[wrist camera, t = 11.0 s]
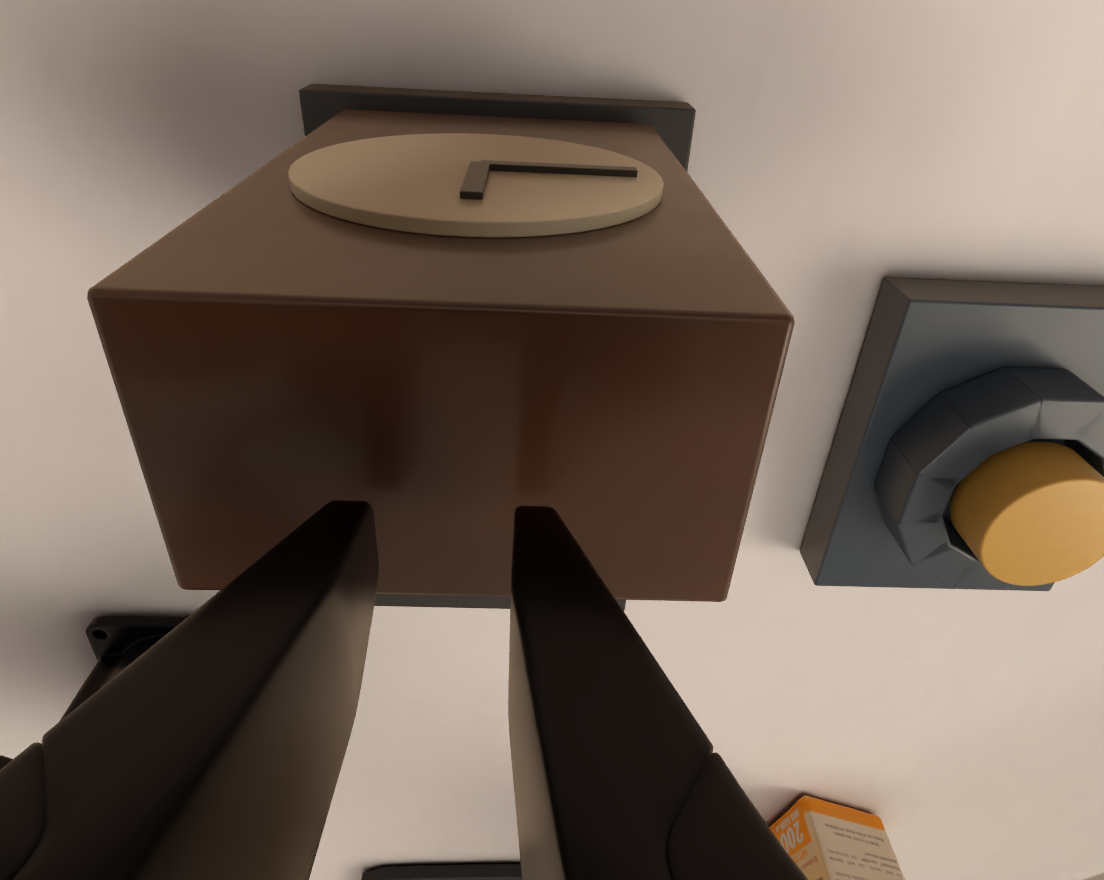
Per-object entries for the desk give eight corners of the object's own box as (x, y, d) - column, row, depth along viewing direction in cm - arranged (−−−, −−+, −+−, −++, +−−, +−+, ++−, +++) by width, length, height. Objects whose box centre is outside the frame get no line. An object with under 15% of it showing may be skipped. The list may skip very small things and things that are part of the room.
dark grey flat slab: (370, 585, 26) (365, 606, 25) (310, 83, 17) (298, 89, 16) (621, 591, 26) (624, 611, 25) (688, 102, 17) (696, 108, 17)
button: (1051, 545, 21) (1089, 588, 20) (931, 542, 21) (960, 585, 20) (1108, 442, 19) (1155, 481, 18) (976, 438, 19) (1012, 477, 18)
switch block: (1021, 557, 26) (1084, 633, 23) (798, 551, 25) (832, 628, 22) (1165, 288, 20) (1271, 342, 17) (883, 276, 20) (943, 329, 17)
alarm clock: (176, 592, 9) (70, 259, 7) (358, 280, 18) (340, 93, 16) (728, 604, 9) (806, 287, 7) (633, 291, 19) (654, 109, 16)
